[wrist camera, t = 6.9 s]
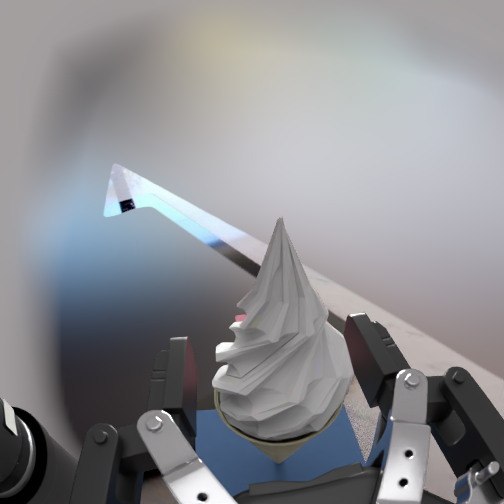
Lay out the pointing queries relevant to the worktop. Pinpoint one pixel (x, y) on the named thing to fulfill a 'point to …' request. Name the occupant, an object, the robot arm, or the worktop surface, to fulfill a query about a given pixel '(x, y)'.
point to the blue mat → (264, 468)
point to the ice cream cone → (282, 359)
